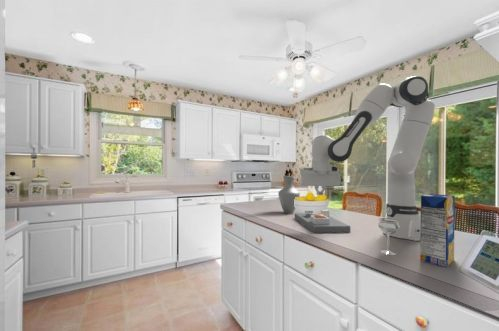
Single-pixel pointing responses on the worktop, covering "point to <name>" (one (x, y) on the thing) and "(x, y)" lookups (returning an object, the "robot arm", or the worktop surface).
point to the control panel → (322, 223)
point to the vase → (288, 195)
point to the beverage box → (437, 229)
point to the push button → (319, 216)
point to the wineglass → (388, 230)
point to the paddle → (325, 213)
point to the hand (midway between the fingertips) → (320, 195)
